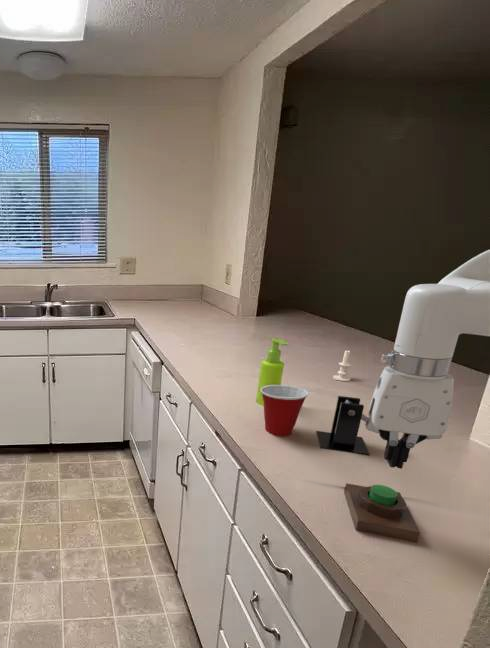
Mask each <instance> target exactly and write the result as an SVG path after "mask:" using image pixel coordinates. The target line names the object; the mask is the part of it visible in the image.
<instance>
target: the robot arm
mask: <svg viewBox="0 0 490 648" xmlns="http://www.w3.org/2000/svg"><path fill="white" fill-rule="evenodd" d="M462 334H465V335H466V334H467V335H475V336H482V337H483V336H484V337H490V249H487V250H485V251H483V252H481V253H479V254H477V255H476V256H474V257H472V258H471V259H469V260H467V261H466V262H464V263H463V264H461V265H460V266H458V267H457V268H456V269H454V270H452V271H451V272H450V273H448V274H447V275H445V276H444V277H443V278H442V279H441V280H440V281H439V282H438V283H420V284H415V285H413V286H411V287H410V288H409V289H408V290H407V292H406V295H405V298H404V301H403V306H402V310H401V315H400V320H399V324H398V328H397V332H396V337H395V342H394V345H393V348H392V349H391V351H390V353H382V354H381V355H380V362H381V363H386V364H388V365H386V366H384V368H383V370H382V372H381V374H380V376H379V379H378V381H377V383H376V386H375V388H374V392H373V393H372V398H371V400H370V404H369V408H368V420H367V422H365V423H364V426H365V429H366V430H367V431H370V432H373V433H375V434H381V435H382V436H383V437H384V438H385V439H386V440H385V441H386V444H385V449H384V453H383V459H384V460H386V461H387V463H388V465H389V467H390V468H397V469H403V467H404V463H408V458H409V454H410V451H411V449H413V448H415V446H416V445H418V444H419V443H421V442H423V441H425V440H439V439H442V438H443V435H444V434H446V431H447V430H448V426H449V423H450V418H451V413H452V407H453V400H454V391H455V390H454V387H455V386H454V385H455V376H453V375H452V374H450V373H449V371H450V368H451V363H452V360H453V357H454V353H455V349H456V346H457V343H458V339H459V336H460V335H462ZM399 433H401V434H402V435H401V438H400V439H399Z"/></svg>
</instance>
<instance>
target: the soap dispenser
mask: <svg viewBox="0 0 490 648" xmlns="http://www.w3.org/2000/svg"><path fill="white" fill-rule="evenodd" d="M269 341H270V342H272V343H271V348H269V349H267V354H266V359H263V360H261V361H260V362H261V363H260V368H259V369H260V370H259V377H258V384H257V385H258V386H257V392H256V398H255V403H257V404H258V405H261V406H263V407H264V401H263V397H262V393H261V392H260V389H261V388H262V387H264V386H269V385H282V378H283V372H284V366H285V363H284V362H282V361H281V354H282V351H281V349H279V345H280V346H288V345H289V343H288V342H287V341H286V340H284V339H282V338H277V337H272V338H269Z"/></svg>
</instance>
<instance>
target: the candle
mask: <svg viewBox="0 0 490 648" xmlns="http://www.w3.org/2000/svg"><path fill="white" fill-rule="evenodd" d="M350 356H351V351H350V350H349V349H347V350H345V351H344V354H343V358H342V361H341V362H338V365H339V366H340V368H339V370H338V371H337V374H334V375H333V376H332V378H333V380H335V381H338V382H344V383H345V382H347V383H348V382H351V380H352V378H351V377H349V376H347V375H349V374H350V373H349V372H348V369H349V367H351V366H352V364H351V363H350V362H349V361H350Z"/></svg>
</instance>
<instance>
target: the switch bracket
mask: <svg viewBox="0 0 490 648" xmlns="http://www.w3.org/2000/svg"><path fill="white" fill-rule="evenodd" d="M347 399H348V400H349V401H351V402H352V403H344V402H345V401H346V400H347ZM353 403H354V404H353ZM360 403H361V399H360V397H352V396H343V395H342V396H341V395H337V400H336V405H335V409H334V415H333V419H332V424H331V428H330V431H329V432H328V431H320V430H316V431H315V434H316V437H317V440H318V445H319V448H320V449H324V450H329V451H336V452H343V453H349V454H354V455H361V456H368V457H370V456H371V454H370V452H369V449H368V448H367V445H366V442H365V440H364V439H363V437H362V436H358V433H359V431H360V425H361V421H362V419H361V417H362V414H364V413H363V412H364V408H365V405H364V404H360Z"/></svg>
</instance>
